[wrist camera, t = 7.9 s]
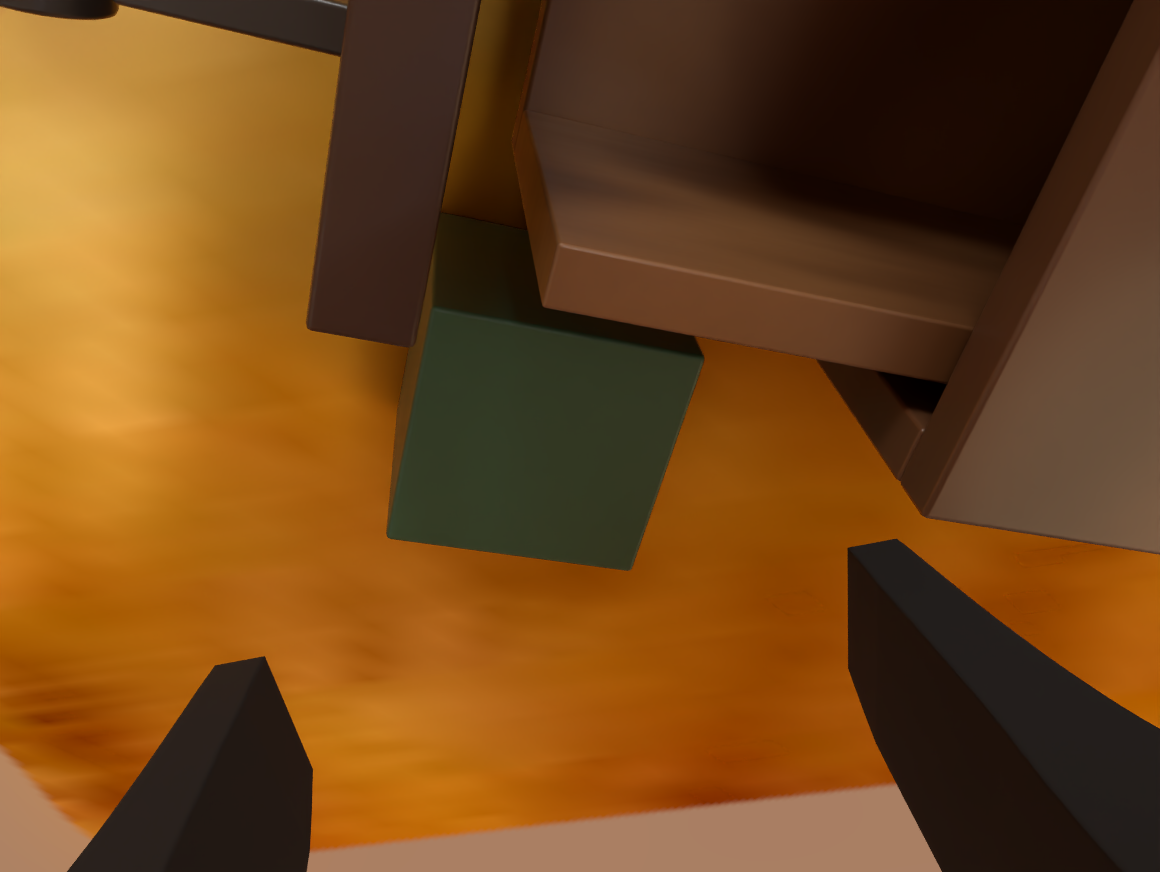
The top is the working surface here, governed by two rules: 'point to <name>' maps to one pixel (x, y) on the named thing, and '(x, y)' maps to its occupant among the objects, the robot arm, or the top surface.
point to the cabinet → (1054, 344)
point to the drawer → (701, 158)
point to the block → (530, 412)
